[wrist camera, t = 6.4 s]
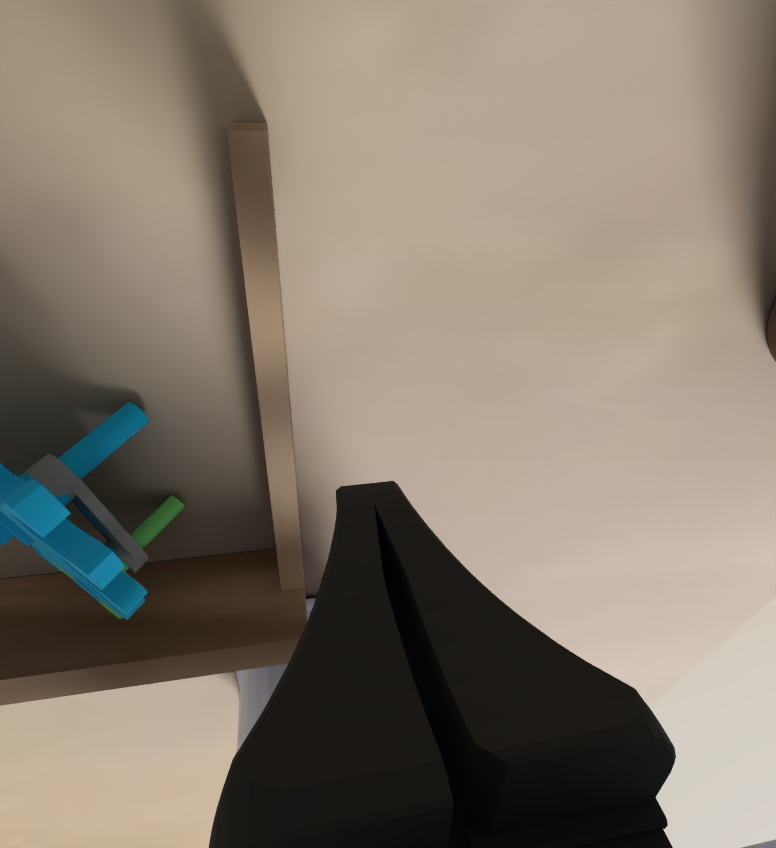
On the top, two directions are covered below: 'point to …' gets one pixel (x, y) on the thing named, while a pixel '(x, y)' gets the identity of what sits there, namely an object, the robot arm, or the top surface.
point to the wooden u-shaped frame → (195, 577)
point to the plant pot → (772, 331)
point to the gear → (63, 541)
